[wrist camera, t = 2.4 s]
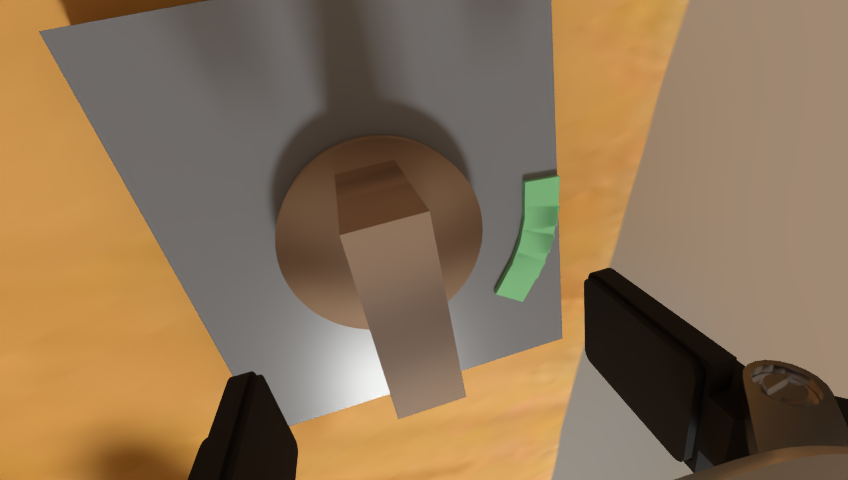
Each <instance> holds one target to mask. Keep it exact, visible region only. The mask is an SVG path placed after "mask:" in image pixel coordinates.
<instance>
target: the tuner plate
mask: <svg viewBox="0 0 848 480" xmlns="http://www.w3.org/2000/svg"><path fill="white" fill-rule="evenodd" d="M39 32H40V34H41V36H42V38H43V40H44V41H45V43H46V45H47V47H48V48H49V50H50V52H51V54H52V55H53V57H54V59H55V61H56V63H57V64H58V66H59V68H60V70H61V71H62V73H63V75H64V77H65V79H66V80H67V82H68V84H69V86H70V87H71V89H72V91H73V93H74V95H75V96H76V98H77V100H78V102H79V103H80V105H81V107H82V109H83V111H84V112H85V114H86V116H87V118H88V119H89V121H90V123H91V125H92V127H93V128H94V130H95V132H96V134H97V135H98V137H99V139H100V141H101V143H102V144H103V146H104V148H105V150H106V151H107V153H108V155H109V157H110V158H111V160H112V162H113V164H114V166H115V167H116V169H117V171H118V173H119V174H120V176H121V178H122V180H123V182H124V183H125V185H126V187H127V189H128V190H129V192H130V194H131V196H132V198H133V199H134V201H135V203H136V205H137V206H138V208H139V210H140V212H141V214H142V215H143V217H144V219H145V221H146V222H147V224H148V226H149V228H150V230H151V231H152V233H153V235H154V237H155V238H156V240H157V242H158V244H159V245H160V247H161V249H162V251H163V253H164V254H165V256H166V258H167V260H168V261H169V263H170V265H171V267H172V269H173V270H174V272H175V274H176V276H177V277H178V279H179V281H180V283H181V285H182V286H183V288H184V290H185V292H186V293H187V295H188V297H189V299H190V301H191V302H192V304H193V306H194V308H195V309H196V311H197V313H198V315H199V317H200V318H201V320H202V322H203V324H204V325H205V327H206V329H207V331H208V333H209V334H210V336H211V338H212V340H213V341H214V343H215V345H216V347H217V348H218V350H219V352H220V354H221V356H222V357H223V359H224V361H225V363H226V364H227V366H228V368H229V370H230V372H231V373H232V375H233V376H237V375H240V374H244V373H247V372H250V371H253V372H255V373H256V375H260V374H262V375H263V376H264V378H265V380H266V382H267V384H268V386H269V388H270V390H271V392H272V394H273V396H274V398H275V400H276V402H277V404H278V406H279V408H280V410H281V412H282V414H283V416H284V418H285V420H286V422H287V424H288V426H292V425H295V424H298V423H301V422H304V421H307V420H310V419H313V418H316V417H320V416H323V415H326V414H329V413H332V412H335V411H338V410H341V409H344V408H347V407H351V406H354V405H357V404H360V403H363V402H366V401H369V400H372V399H375V398H379V397H382V396H385V395H388V394H390V391H389V388H388V385H387V382H386V379H385V376H384V373H383V369H382V366H381V363H380V360H379V357H378V354H377V351H376V348H375V344H374V341H373V338H372V335H371V332H370V330H368V329H357V328H352V327H347V326H343V325H340V324H337V323H334V322H332V321H329V320H327V319H325V318H323V317H321V316H320V315H318V314H316V313H315V312H313V311H312V310H311V309H309V308H308V307H307V306H306V305H304V304H303V303H302V302H301V301H300V300H299V299H298V298H297V297H296V295H295V294H294V293H293V292H292V290H291V289H290V287H289V286H288V285H287V283H286V281H285V279H284V277H283V275H282V273H281V270H280V267H279V264H278V261H277V255H276V249H275V231H276V224H277V219H278V216H279V212H280V209H281V206H282V202H283V199H284V197H285V195H286V192H287V190H288V188H289V186H290V184H291V183H292V181H293V180H294V178H295V177H296V175H297V174H298V173H299V172H300V171H301V170H302V168H303V167H304V166H305V165H306V164H307V163H308V162H309V161H311V160H312V159H313V158H314V157H315V156H316V155H318V154H319V153H321V152H322V151H324V150H326V149H327V148H329V147H331V146H333V145H335V144H337V143H339V142H341V141H344V140H348V139H351V138H354V137H359V136H365V135H373V134H388V135H397V136H402V137H406V138H410V139H413V140H416V141H418V142H421V143H423V144H425V145H427V146H429V147H431V148H432V149H434V150H436V151H437V152H438V153H440V154H441V155H442V156H444V157H445V158H446V159H447V160H449V161H450V162H451V163H452V164H454V165H455V166H456V167H457V169H458V170H459V171H460V172H461V173H462V174H463V175H464V176H465V178H466V179H467V181H468V182H469V183H470V185H471V187H472V189H473V191H474V193H475V195H476V197H477V200H478V203H479V206H480V210H481V215H482V226H483V233H482V243H481V248H480V253H479V256H478V259H477V261H476V264H475V266H474V268H473V270H472V272H471V274H470V276H469V278H468V279H467V281H466V282H465V284H464V285H463V286H462V288H461V289H460V290H459V291H458V292H457V294H456V295H454V296H453V297H452V298H451V299H450V300H449V301H448V307H449V312H450V317H451V322H452V328H453V333H454V338H455V343H456V348H457V353H458V358H459V363H460V368H461V371H462V370H465V369H468V368H472V367H475V366H478V365H481V364H484V363H487V362H490V361H493V360H496V359H500V358H503V357H506V356H509V355H512V354H515V353H518V352H521V351H524V350H527V349H531V348H534V347H537V346H540V345H543V344H546V343H549V342H552V341H555V340H558V339H562V315H561V285H560V254H559V224H558V212H559V208H560V206H559V205H558V200H559V181H560V176H558V175H557V163H556V133H555V102H554V72H553V42H552V11H551V0H207V1H202V2H196V3H191V4H185V5H180V6H174V7H169V8H164V9H158V10H153V11H147V12H142V13H136V14H131V15H126V16H120V17H115V18H109V19H104V20H98V21H93V22H88V23H82V24H77V25H71V26H66V27H60V28H55V29H50V30H44V31H39Z"/></svg>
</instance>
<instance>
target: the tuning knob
mask: <svg viewBox="0 0 848 480" xmlns="http://www.w3.org/2000/svg"><path fill="white" fill-rule="evenodd" d="M482 233H483V226H482V215H481V210H480V206H479V203H478V200H477V197H476V195H475V193H474V191H473V189H472V187H471V185H470V183H469V182H468V181H467V179H466V178H465V176H464V175H463V174H462V173H461V172H460V171H459V170H458V169H457V167H456V166H455V165H454V164H452V163H451V162H450V161H449V160H447V159H446V158H445V157H444V156H442V155H441V154H440V153H438V152H437V151H436V150H434V149H432V148H431V147H429V146H427V145H425V144H423V143H421V142H418V141H416V140H413V139H410V138H406V137H402V136H397V135H388V134H373V135H365V136H359V137H354V138H351V139H348V140H344V141H341V142H339V143H337V144H335V145H333V146H331V147H329V148H327V149H326V150H324V151H322V152H321V153H319V154H318V155H316V156H315V157H314V158H313V159H312V160H311V161H309V162H308V163H307V164H306V165H305V166H304V167H303V168H302V170H301V171H300V172H299V173H298V174H297V175H296V177H295V178H294V180H293V181H292V183H291V184H290V186H289V188H288V190H287V192H286V195H285V197H284V199H283V202H282V206H281V209H280V212H279V216H278V219H277V224H276V231H275V249H276V255H277V261H278V264H279V267H280V270H281V273H282V275H283V277H284V279H285V281H286V283H287V285H288V286H289V287H290V289H291V290H292V292H293V293H294V294H295V295H296V297H297V298H298V299H299V300H300V301H301V302H302V303H303V304H304V305H306V306H307V307H308V308H309V309H311V310H312V311H313V312H315V313H316V314H318V315H320V316H321V317H323V318H325V319H327V320H329V321H332V322H334V323H337V324H340V325H343V326H347V327H352V328H357V329H368V330H370V332H371V335H372V338H373V341H374V344H375V348H376V351H377V354H378V357H379V360H380V363H381V366H382V369H383V373H384V376H385V379H386V382H387V385H388V388H389V391H390V394H391V398H392V401H393V404H394V407H395V410H396V413H397V416H398V419H401V418H404V417H407V416H410V415H413V414H416V413H419V412H422V411H425V410H428V409H431V408H434V407H437V406H440V405H443V404H446V403H449V402H452V401H455V400H458V399H461V398H464V397H466V394H465V389H464V384H463V379H462V374H461V368H460V363H459V358H458V353H457V348H456V343H455V338H454V333H453V328H452V322H451V317H450V312H449V307H448V301H449V300H450V299H451V298H452V297H453V296H454V295H456V294H457V292H458V291H459V290H460V289H461V288H462V286H463V285H464V284H465V282H466V281H467V279H468V278H469V276H470V274H471V272H472V270H473V268H474V266H475V264H476V261H477V259H478V256H479V253H480V248H481V243H482Z"/></svg>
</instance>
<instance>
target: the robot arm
mask: <svg viewBox="0 0 848 480" xmlns="http://www.w3.org/2000/svg"><path fill="white" fill-rule="evenodd" d="M584 308H585V351H586V355H587V357H588V359H589V361H590V362H591V363H592V365H593V366H594V367H595V368H596V369H597V370H598V371H599V373H600V374H601V375H602V376H603V377H604V378H605V380H606V381H607V382H608V383H609V384H610V385H611V386H612V388H613V389H614V390H615V391H616V392H617V393H618V394H619V396H620V397H621V398H622V399H623V400H624V401H625V402H626V404H627V405H628V406H629V407H630V408H631V409H632V410H633V412H634V413H635V414H636V415H637V416H638V417H639V419H640V420H641V421H642V422H643V423H644V424H645V425H646V427H647V428H648V429H649V430H650V431H651V432H652V433H653V435H654V436H655V437H656V438H657V439H658V440H659V441H660V443H661V444H662V445H663V446H664V447H665V448H666V450H667V451H668V452H669V453H670V454H671V455H672V456H673V457H674V458H675V459H676V460H677V461H680V462H682V461H684V462H685V464H686V465H687V466H688V467H689V468H690V469H691V470H692V471H693V474H690V475H687V476H684V477H681V478H678V479H675V480H848V399H845V398H841V397H836V396H834V394H833V392H832V391H831V390H830V388H829V387H828V385H827V384H826V383H824V382H823V381H822V380H821V379H820V378H819V377H817V376H816V375H814V374H812V373H811V372H809V371H807V370H805V369H803V368H800V367H798V366H795V365H793V364H789V363H785V362H780V361H773V360H761V361H755V362H752V363H750V364H748V365H747V366H746V367H745V366H744V365H743V364H741V363H740V362H738V361H737V360H736V359H737V358H736V357H735V356H733V355H732V354H730V353H729V352H727V351H726V350H725V349H724V348H722V347H721V346H719V345H718V344H717V343H715V342H714V341H712V340H711V339H709V338H708V337H707V336H705V335H704V334H703V333H701V332H700V331H699V330H697V329H696V328H694V327H693V326H692V325H690V324H689V323H687V322H686V321H685V320H683V319H682V318H680V317H679V316H678V315H676V314H675V313H673V312H672V311H671V310H669V309H668V308H666V307H665V306H664V305H662V304H661V303H659V302H658V301H657V300H655V299H654V298H653V297H651V296H649V295H648V294H647V293H646V292H644V291H643V290H641V289H640V288H639V287H637V286H636V285H634V284H633V283H632V282H630V281H629V280H627V279H626V278H625V277H623V276H622V275H620V274H619V273H617V272H616V271H615V270H613V269H611V268H606V269H603V270H599V271H596V272H592V273H590V274H589V276H588V279H586V280H585V282H584ZM297 457H298V448H297V443H296V440H295V438H294V436H293V434H292V432H291V430H290V428H289V426H288V424H287V422H286V420H285V418H284V416H283V414H282V412H281V410H280V408H279V406H278V404H277V402H276V400H275V398H274V396H273V394H272V392H271V390H270V388H269V386H268V384H267V382H266V380H265V378H264V376H263V375H262V374H260V375H256V373H255V372H253V371H250V372H247V373H244V374H240V375H237V376H233V377H231V378H229V380H228V382H227V384H226V387H225V390H224V393H223V396H222V399H221V401H220V404H219V407H218V410H217V413H216V416H215V418H214V421H213V424H212V427H211V430H210V433H209V436H208V438H206V439H205V440H204V441H203V442H202V444H201V446H200V448H199V450H198V453H197V456H196V459H195V461H194V464H193V467H192V470H191V472H190V475H189V478H188V480H295V477H296V467H297Z"/></svg>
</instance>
